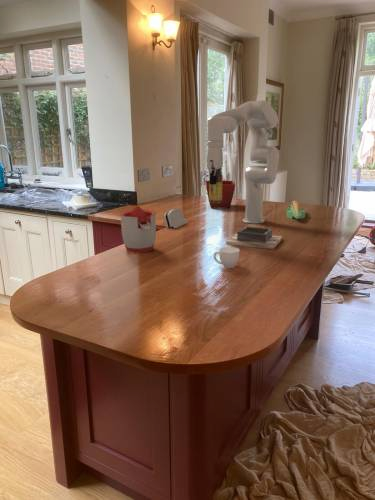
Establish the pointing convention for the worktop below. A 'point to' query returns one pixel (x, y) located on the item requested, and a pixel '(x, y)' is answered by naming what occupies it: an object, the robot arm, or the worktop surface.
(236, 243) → the bottle dock
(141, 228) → the citrus juicer
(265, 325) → the worktop surface
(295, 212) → the toy spaceship
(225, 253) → the cup
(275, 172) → the robot arm
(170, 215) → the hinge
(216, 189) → the sauce bottle
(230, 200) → the plant pot
